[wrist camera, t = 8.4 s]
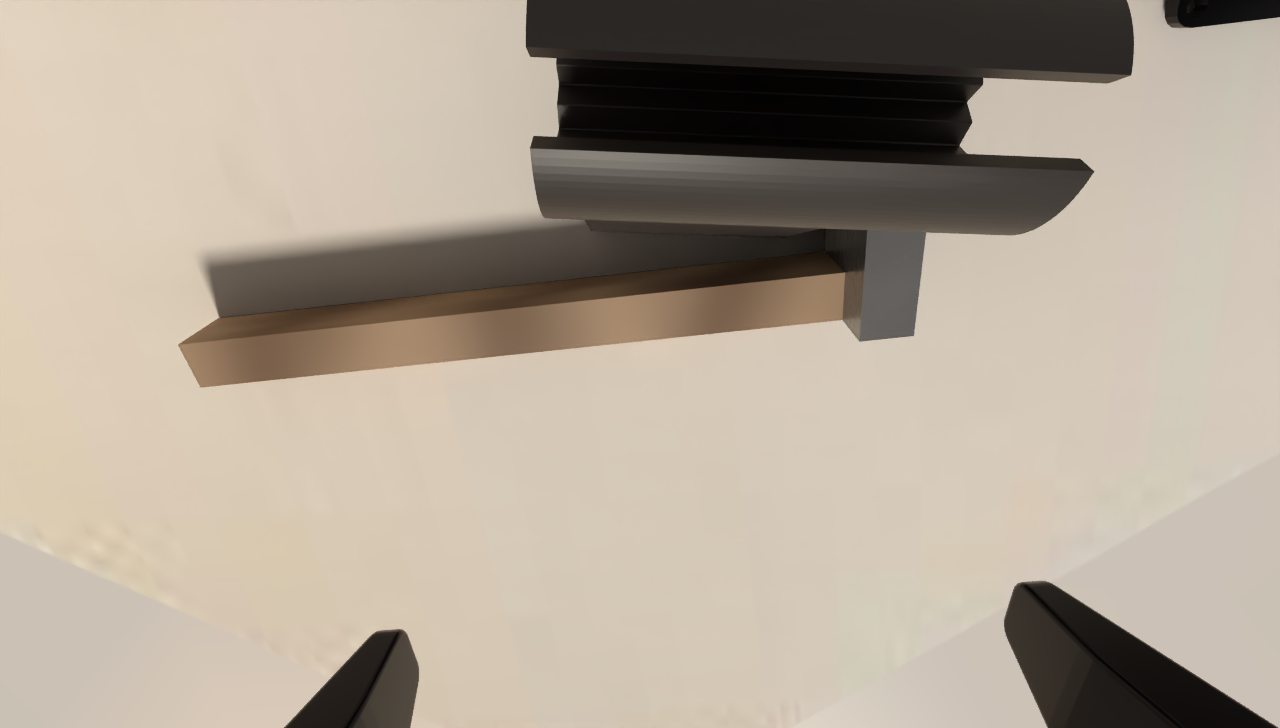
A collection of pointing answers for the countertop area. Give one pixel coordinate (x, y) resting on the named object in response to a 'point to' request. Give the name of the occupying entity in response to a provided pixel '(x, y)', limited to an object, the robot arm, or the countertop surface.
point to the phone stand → (805, 112)
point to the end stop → (878, 280)
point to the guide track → (518, 319)
